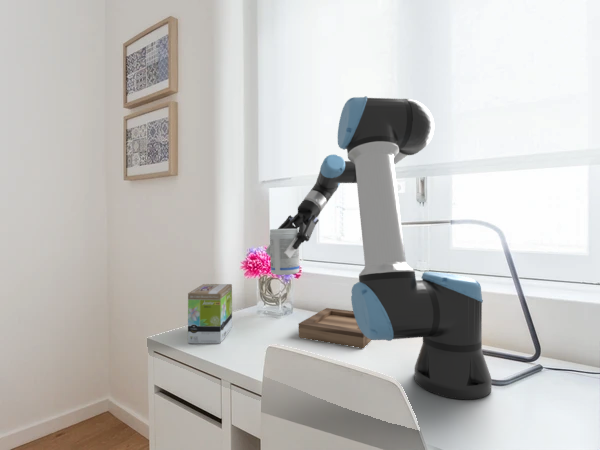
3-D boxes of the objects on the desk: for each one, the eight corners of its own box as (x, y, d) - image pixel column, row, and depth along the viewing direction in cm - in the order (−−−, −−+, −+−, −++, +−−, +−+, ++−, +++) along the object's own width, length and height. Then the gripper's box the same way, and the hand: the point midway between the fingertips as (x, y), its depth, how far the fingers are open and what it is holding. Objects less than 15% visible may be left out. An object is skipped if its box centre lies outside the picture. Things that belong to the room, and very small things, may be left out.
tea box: (222, 344, 102) (221, 292, 101) (187, 344, 102) (185, 293, 102) (233, 327, 117) (232, 282, 116) (202, 327, 117) (201, 283, 117)
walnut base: (363, 348, 96) (363, 333, 96) (298, 337, 106) (298, 323, 106) (383, 327, 114) (383, 314, 114) (326, 319, 124) (326, 307, 124)
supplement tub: (303, 271, 121) (303, 228, 121) (292, 276, 112) (291, 229, 112) (278, 270, 125) (277, 228, 124) (265, 274, 116) (264, 229, 116)
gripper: (340, 213, 120) (306, 264, 110) (297, 214, 137) (263, 259, 126) (328, 197, 116) (292, 248, 106) (286, 200, 133) (251, 245, 123)
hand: (277, 254), depth 116 cm, fingers closed on supplement tub, 9 cm apart
